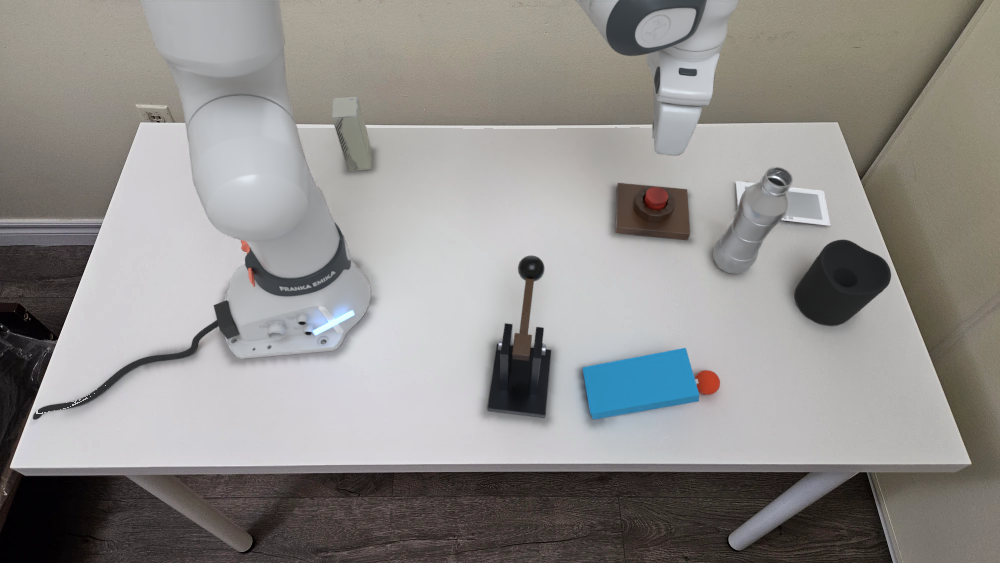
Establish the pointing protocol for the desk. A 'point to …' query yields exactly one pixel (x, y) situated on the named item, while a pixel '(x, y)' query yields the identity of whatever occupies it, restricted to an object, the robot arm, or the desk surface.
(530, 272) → the lever
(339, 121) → the box
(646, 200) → the button
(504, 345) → the bracket
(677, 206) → the button block
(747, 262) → the plastic bottle
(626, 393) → the blue block with knob
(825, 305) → the pen holder
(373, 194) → the desk surface
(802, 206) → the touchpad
